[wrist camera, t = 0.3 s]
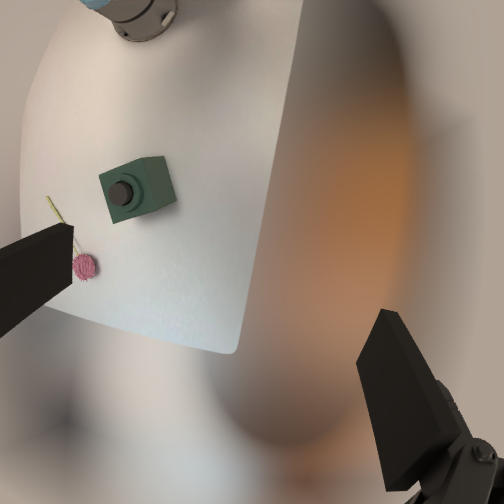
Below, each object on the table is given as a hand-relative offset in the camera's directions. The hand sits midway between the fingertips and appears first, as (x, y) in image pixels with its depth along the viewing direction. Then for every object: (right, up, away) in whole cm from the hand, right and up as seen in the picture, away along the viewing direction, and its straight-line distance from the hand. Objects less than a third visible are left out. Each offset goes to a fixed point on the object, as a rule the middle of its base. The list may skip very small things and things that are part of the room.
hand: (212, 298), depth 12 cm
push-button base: (-21, +16, +55) cm, 61 cm away
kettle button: (-22, +13, +43) cm, 50 cm away
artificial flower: (-44, +6, +61) cm, 75 cm away
